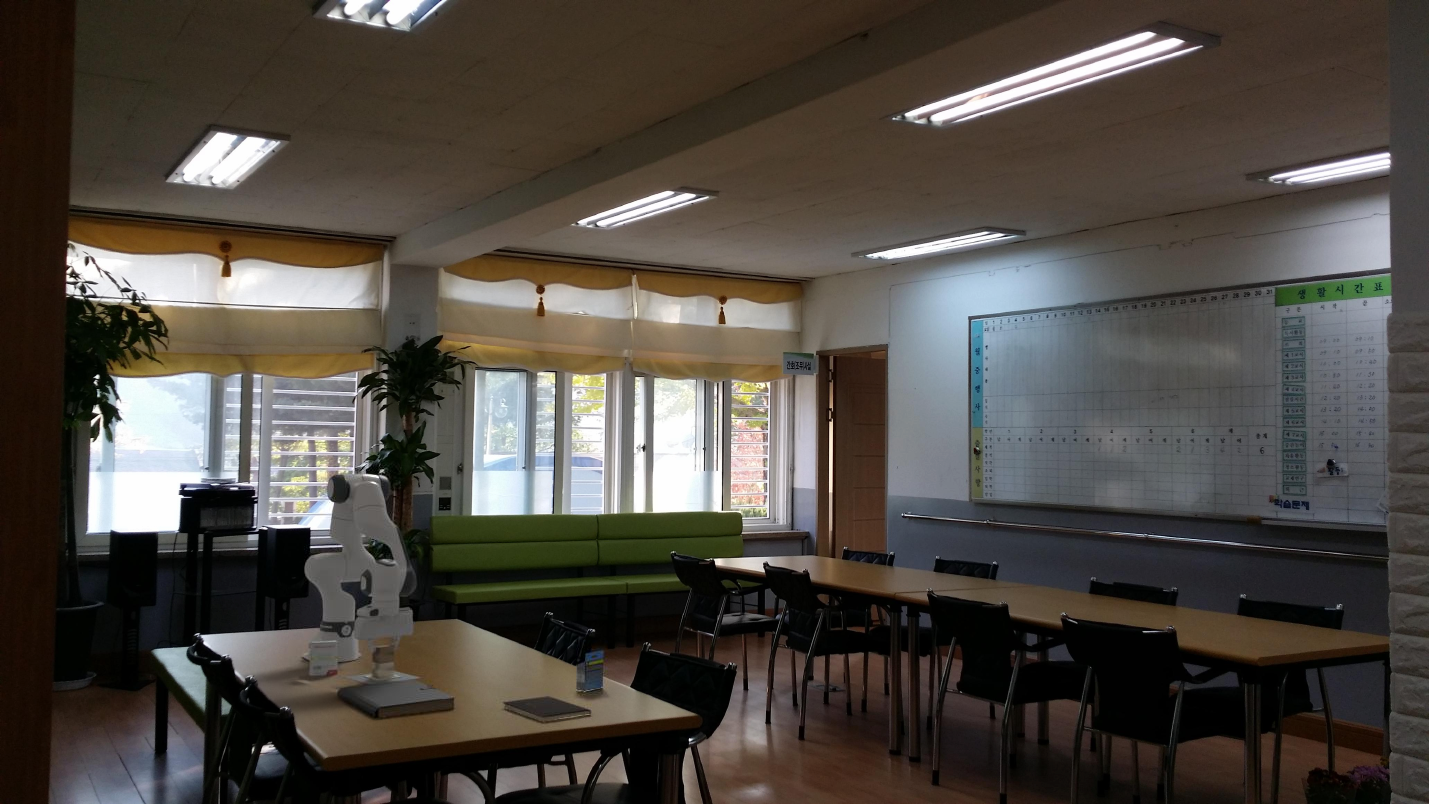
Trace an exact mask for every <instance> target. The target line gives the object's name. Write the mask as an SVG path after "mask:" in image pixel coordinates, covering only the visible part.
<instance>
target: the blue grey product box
mask: <svg viewBox="0 0 1429 804" xmlns="http://www.w3.org/2000/svg"><path fill="white" fill-rule="evenodd" d="M604 654H605V653H604V650H598V651H594V652H588V653H585V660H584V662H581V663H579V664H577V665H576V682H575V683H576V687H575V688H576V689H577V690H583V691H586V690H591V689H596V688H601V687H603V688H604ZM594 656H595V657H594ZM576 689H575V690H576Z"/></svg>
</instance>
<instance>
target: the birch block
mask: <svg viewBox="0 0 1429 804" xmlns="http://www.w3.org/2000/svg"><path fill="white" fill-rule="evenodd" d="M371 662H372V661H371ZM394 664H395V661H394V662H389V663H382V664H379V663H375V662H372V663H371V673H372V677H373V678H377V679H382V678H390V677H393V675H394V671H395V665H394Z"/></svg>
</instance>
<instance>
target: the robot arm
mask: <svg viewBox="0 0 1429 804" xmlns="http://www.w3.org/2000/svg"><path fill="white" fill-rule="evenodd" d="M326 493H327V497H328V500H329V501H330V502H331V503H333V506H332V510H331V519H330V526H329V536H330V539H331V540H332V541H333V542H335V543H337V544H338V545H341V546H342V548H341V549H342V551H341V552H322V553H318V554H313V555H310V556H309V557H308V558H307V560H306V561H305V564H304V574H305V577H306V579H307V580H308V581H309V582H311V583H312V584H313V585H314V586H315V587H316V588H317V589H318V592H319V593H320V595H321V599H322V620H321V621H319V625H320V626H319V632H317V633H316V634H315V636H314V637H312V638H311V640H309V641H310V642H308V649H309V650H308V652H305V653H302V655H301V656H302V658H304V659H306V660H308V661H310V646H311V642H312V641H334V640H336V641H337V642H338V663H340V662H341V663H342V662H349V661H355V660H358V659H359V658H361V657H362V653H359V641H364V640H365V641H366V640H367V641H366V642H367V644H368V646H369V648H370V649H369V651H370V653H372V654H373V653H374V652H377V647H375V646H376V645H375V644H374V643H375V640H376V639H383V638H385V639H386V638H393V639H394V640H393V642H392V644H390V645H389V646H394V651H396V650H398V645H399V643H400V641H401V637H403V636H411V635H412V634H413V633H414V620H413V619H414V618H413V616H414V613H413V610H412V608H410V607H409V606H407V607H400V597H408V596H410V595H411V594H412V593H413V592H414V591H415V590H416V588H417V584H418V582H417V581H418V580H417V575H416V572H415V570H414V568H413V566H412V564H411V561H410V558H409V557H410V556H409V555H408V551H407V548H406V545H405V541H404V539H403V535H402V533H401V530H400V527H398V525H397V524H395V523H394V522H393V521H392V520H391V518H390V516H389V514H388V511H387V505H386V501H387V500H388V499H389V498H390V497H389V496H390V493H391V483H390V480H389V479H388V478H387V476H385V475H381V474H372V473H371V474H370V473H347V474H343V473H339V474H334V475H331V477H329V479H328V481H327V485H326ZM362 535H363V536H364V537H367V538H370V539H373V540H377V541H378V542H381V543H383V544H385V545H386V546H388V547H389V549H390V551H391V555H392V557H393V559H389V558H388V559H387V558H383V559H378V560H376V559H375V557H374V556H373V555H372V554H371V553H369V551H368V550H367V549H366V548H365V545H364V544H363V539H362ZM353 582H360V583H359V587H360V588H359V589H360V590H359V591H360V592H361V593H363V594H364V595H365V596H367V597H372V598H371V603H370V604H366V605H365V606H362V607H360V608H358V609H357V611H356V600H355V597H354V596H353V595H352V594H350V593H349V592H346V591H345V590H343V588H342V584H341V583H353ZM355 611H356V613H355ZM356 615H357V616H358V617H356V619H355V616H356Z"/></svg>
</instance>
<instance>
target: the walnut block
mask: <svg viewBox="0 0 1429 804" xmlns="http://www.w3.org/2000/svg"><path fill="white" fill-rule="evenodd" d="M374 646H375V647H377V652H374V653H372V658H371V659H372V661H371V662H375V663H379V664H382V663H389V662H394V663H395V650H394V646H390V645H387V644H386V645H385V644H384V645H374Z"/></svg>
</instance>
